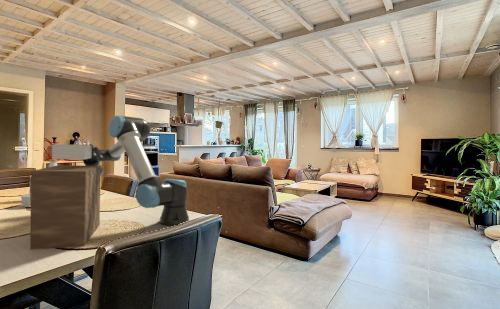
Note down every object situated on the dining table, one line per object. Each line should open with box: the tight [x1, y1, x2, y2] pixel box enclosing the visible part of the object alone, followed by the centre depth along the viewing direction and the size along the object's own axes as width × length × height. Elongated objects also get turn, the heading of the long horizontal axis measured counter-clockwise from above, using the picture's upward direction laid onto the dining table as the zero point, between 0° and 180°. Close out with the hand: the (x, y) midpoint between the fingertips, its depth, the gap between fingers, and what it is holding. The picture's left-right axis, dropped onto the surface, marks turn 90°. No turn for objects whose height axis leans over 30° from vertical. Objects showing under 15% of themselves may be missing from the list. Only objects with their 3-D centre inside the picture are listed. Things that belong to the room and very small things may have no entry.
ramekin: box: [20, 193, 31, 208], centre depth 169 cm, size 13×13×7 cm
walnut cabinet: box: [29, 164, 102, 251], centre depth 118 cm, size 28×18×30 cm, turn 18°
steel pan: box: [51, 144, 93, 160], centre depth 130 cm, size 32×12×6 cm, turn 18°
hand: (82, 141), depth 135 cm, fingers closed on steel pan, 3 cm apart
